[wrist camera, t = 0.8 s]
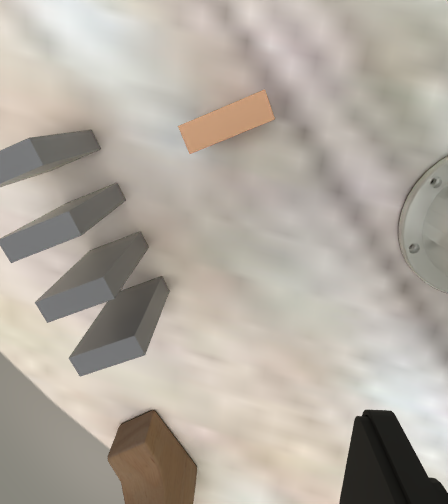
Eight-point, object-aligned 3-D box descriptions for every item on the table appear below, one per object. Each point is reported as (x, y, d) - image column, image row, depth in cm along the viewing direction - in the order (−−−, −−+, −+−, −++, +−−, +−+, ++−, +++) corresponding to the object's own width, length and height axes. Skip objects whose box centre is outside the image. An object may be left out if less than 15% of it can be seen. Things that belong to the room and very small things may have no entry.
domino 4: (162, 276, 35) (134, 335, 26) (169, 291, 36) (145, 355, 26) (112, 293, 36) (68, 357, 27) (120, 308, 37) (80, 376, 27)
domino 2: (117, 182, 33) (68, 211, 23) (125, 200, 33) (81, 235, 24) (64, 204, 33) (-3, 240, 24) (73, 221, 34) (11, 263, 24)
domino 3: (140, 231, 34) (103, 276, 25) (148, 247, 34) (114, 298, 25) (89, 250, 35) (34, 302, 25) (98, 266, 35) (47, 322, 26)
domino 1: (91, 129, 31) (28, 137, 22) (100, 149, 32) (43, 165, 22) (37, 153, 32) (-45, 171, 23) (47, 171, 33) (-30, 196, 23)
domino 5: (256, 96, 30) (264, 89, 21) (263, 116, 31) (275, 119, 21) (196, 121, 31) (178, 126, 21) (204, 141, 31) (189, 154, 22)
